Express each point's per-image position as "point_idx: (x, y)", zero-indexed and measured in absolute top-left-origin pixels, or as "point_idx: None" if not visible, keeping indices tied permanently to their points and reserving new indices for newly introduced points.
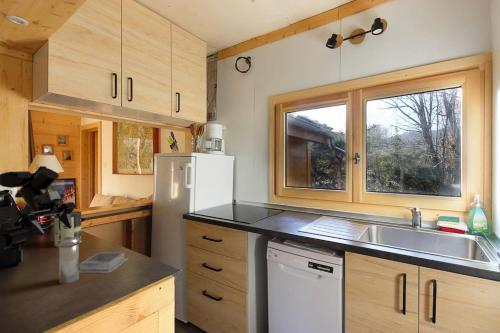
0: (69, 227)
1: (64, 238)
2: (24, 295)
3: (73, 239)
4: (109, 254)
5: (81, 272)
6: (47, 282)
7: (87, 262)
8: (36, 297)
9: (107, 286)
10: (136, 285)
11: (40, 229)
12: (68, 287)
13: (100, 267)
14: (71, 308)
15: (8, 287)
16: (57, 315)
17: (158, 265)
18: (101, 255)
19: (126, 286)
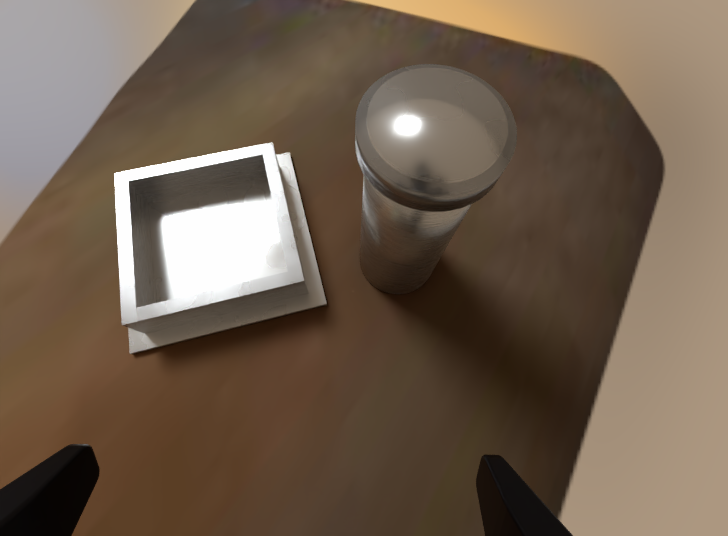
0: (87, 477)
1: (431, 176)
2: (556, 305)
3: (425, 87)
4: (135, 246)
5: (319, 274)
6: (447, 332)
7: (285, 249)
8: (542, 244)
9: None
10: (356, 18)
11: (544, 519)
12: None
13: (284, 191)
14: (529, 86)
15: (555, 476)
16: (567, 92)
17: (188, 35)
18: (142, 295)
19: (371, 38)
